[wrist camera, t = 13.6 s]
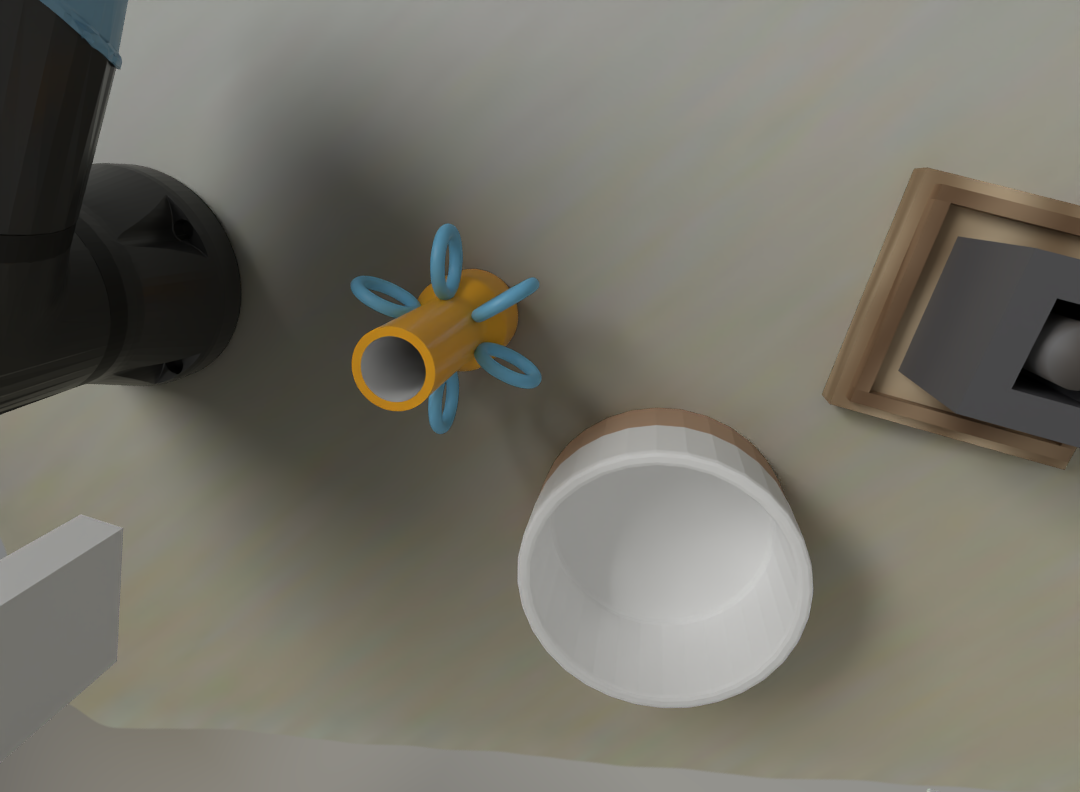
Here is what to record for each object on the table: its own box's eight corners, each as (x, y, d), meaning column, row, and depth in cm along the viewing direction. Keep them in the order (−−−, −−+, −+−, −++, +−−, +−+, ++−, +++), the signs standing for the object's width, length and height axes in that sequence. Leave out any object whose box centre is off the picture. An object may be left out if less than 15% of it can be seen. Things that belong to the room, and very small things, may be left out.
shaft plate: (822, 394, 43) (869, 452, 33) (914, 168, 38) (999, 161, 29) (1045, 457, 42) (1160, 535, 32) (1168, 232, 37) (1342, 246, 28)
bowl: (791, 403, 43) (821, 450, 35) (783, 632, 48) (808, 718, 40) (530, 408, 46) (504, 452, 38) (546, 623, 51) (527, 702, 43)
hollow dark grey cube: (898, 370, 40) (958, 415, 32) (957, 236, 37) (1039, 248, 29) (1035, 408, 39) (1131, 463, 31) (1106, 274, 36) (1230, 297, 29)
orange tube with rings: (513, 194, 42) (442, 196, 28) (592, 338, 44) (563, 408, 30) (361, 287, 46) (229, 330, 31) (441, 417, 47) (350, 513, 33)
